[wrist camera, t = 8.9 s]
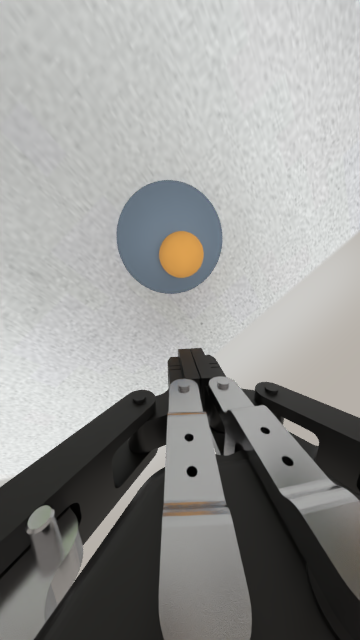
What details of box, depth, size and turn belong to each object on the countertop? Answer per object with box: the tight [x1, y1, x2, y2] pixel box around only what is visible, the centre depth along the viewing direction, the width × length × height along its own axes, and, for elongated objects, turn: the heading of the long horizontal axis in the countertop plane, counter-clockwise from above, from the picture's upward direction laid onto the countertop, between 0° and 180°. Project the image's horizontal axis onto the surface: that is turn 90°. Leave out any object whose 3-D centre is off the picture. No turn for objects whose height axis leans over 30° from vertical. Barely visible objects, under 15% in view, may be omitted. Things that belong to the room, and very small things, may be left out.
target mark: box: [117, 180, 222, 294], centre depth 27 cm, size 14×14×1 cm
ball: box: [159, 231, 204, 278], centre depth 25 cm, size 6×6×6 cm
